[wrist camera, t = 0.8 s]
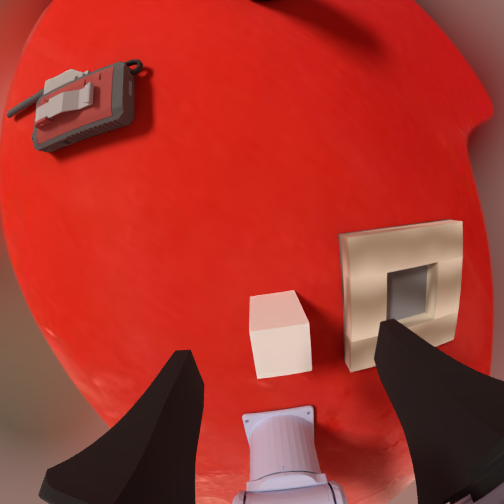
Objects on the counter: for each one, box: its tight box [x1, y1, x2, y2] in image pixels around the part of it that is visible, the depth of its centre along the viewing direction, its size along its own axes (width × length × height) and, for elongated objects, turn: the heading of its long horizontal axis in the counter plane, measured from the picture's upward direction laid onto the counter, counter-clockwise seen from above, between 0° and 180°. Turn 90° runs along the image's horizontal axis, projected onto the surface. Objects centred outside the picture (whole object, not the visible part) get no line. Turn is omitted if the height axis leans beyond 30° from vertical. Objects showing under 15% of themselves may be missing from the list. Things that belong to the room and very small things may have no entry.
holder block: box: [338, 219, 463, 372], centre depth 23 cm, size 13×13×2 cm
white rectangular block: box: [249, 290, 312, 379], centre depth 22 cm, size 4×4×7 cm
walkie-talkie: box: [7, 60, 143, 152], centre depth 19 cm, size 9×4×20 cm
